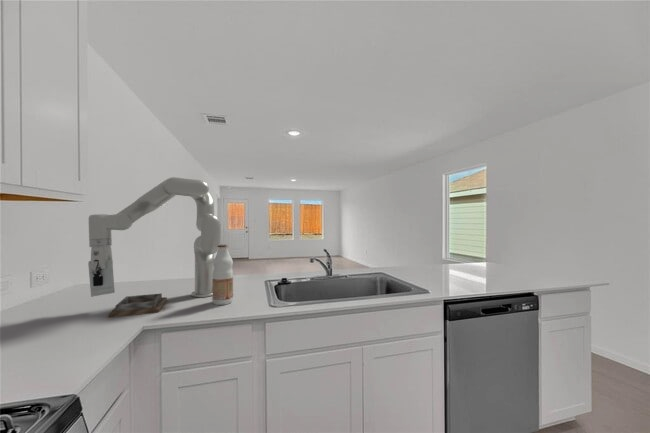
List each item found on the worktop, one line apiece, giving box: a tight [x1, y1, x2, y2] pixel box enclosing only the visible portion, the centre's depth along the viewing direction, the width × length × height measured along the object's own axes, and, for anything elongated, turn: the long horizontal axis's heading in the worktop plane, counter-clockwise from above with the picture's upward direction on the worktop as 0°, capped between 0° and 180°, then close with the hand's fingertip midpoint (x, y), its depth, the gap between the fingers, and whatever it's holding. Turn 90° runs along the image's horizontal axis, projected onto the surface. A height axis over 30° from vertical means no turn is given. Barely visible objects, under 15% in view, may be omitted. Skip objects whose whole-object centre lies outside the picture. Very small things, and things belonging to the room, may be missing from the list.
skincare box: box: [88, 257, 116, 298], centre depth 120 cm, size 8×6×15 cm
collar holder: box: [108, 292, 168, 318], centre depth 124 cm, size 18×18×4 cm
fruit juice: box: [211, 243, 234, 306], centre depth 133 cm, size 9×9×28 cm
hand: (102, 283), depth 120 cm, fingers closed on skincare box, 7 cm apart
